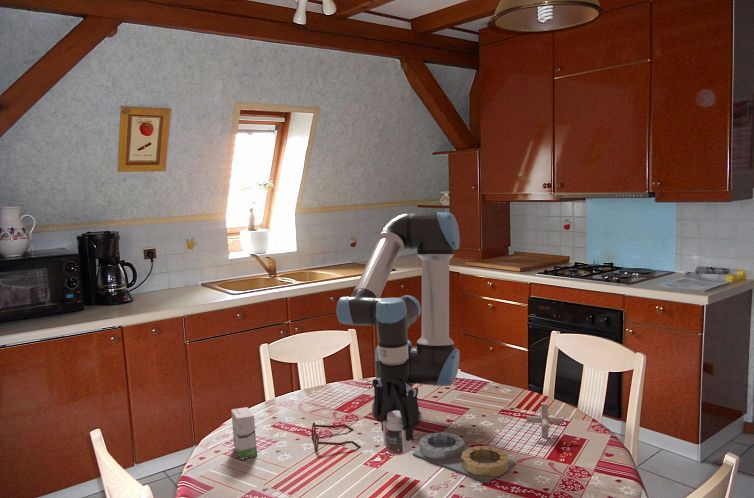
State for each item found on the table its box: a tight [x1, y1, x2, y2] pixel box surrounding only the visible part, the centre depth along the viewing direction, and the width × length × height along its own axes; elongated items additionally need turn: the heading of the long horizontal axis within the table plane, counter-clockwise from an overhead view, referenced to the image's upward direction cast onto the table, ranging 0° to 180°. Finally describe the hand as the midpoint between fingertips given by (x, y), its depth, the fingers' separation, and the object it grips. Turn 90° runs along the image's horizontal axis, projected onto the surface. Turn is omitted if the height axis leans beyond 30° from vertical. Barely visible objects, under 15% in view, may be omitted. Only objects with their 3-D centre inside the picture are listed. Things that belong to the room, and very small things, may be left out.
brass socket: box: [461, 445, 509, 477], centre depth 153 cm, size 12×12×2 cm
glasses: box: [311, 421, 362, 452], centre depth 172 cm, size 13×13×5 cm
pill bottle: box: [386, 411, 407, 456], centre depth 150 cm, size 6×6×10 cm
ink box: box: [231, 406, 258, 460], centre depth 167 cm, size 9×5×12 cm, turn 26°
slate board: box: [412, 444, 516, 484], centre depth 158 cm, size 24×13×1 cm, turn 46°
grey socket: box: [419, 431, 465, 461], centre depth 162 cm, size 12×12×2 cm
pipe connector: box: [526, 401, 564, 439], centre depth 169 cm, size 10×10×10 cm
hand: (397, 447), depth 151 cm, fingers closed on pill bottle, 6 cm apart
